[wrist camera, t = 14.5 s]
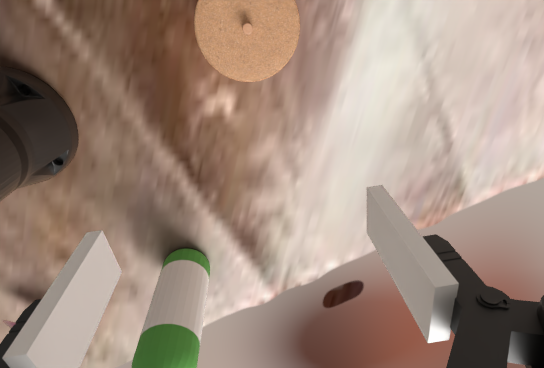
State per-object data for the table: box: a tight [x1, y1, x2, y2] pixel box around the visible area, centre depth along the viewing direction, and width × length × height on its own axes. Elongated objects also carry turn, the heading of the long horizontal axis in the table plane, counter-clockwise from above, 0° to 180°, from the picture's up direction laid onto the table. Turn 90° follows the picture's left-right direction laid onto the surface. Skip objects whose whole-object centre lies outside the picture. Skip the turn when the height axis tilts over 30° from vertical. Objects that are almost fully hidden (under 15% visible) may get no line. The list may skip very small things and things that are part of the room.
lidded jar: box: [194, 0, 300, 82], centre depth 37 cm, size 11×11×9 cm
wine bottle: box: [132, 249, 210, 368], centre depth 44 cm, size 8×8×30 cm
